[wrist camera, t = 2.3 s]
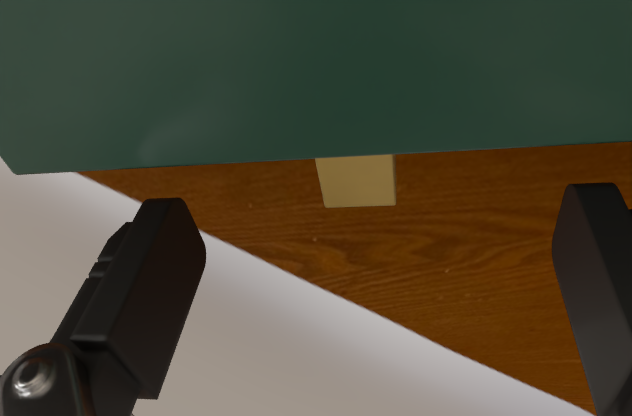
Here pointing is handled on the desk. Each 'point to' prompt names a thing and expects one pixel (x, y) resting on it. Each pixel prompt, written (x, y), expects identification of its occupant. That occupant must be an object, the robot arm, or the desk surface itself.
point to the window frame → (305, 79)
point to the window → (358, 180)
